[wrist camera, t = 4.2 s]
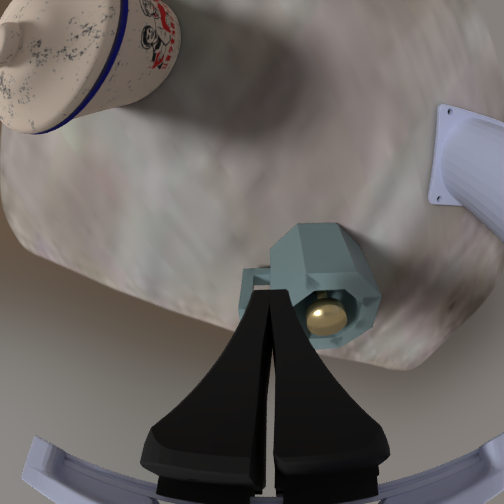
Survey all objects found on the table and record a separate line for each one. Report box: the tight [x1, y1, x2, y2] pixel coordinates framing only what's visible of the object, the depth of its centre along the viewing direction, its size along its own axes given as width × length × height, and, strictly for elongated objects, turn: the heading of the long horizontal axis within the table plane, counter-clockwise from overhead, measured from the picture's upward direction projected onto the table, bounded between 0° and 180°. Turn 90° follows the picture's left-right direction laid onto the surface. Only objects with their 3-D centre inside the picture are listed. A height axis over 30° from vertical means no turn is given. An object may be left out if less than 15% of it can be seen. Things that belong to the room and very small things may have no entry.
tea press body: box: [238, 223, 382, 349], centre depth 20 cm, size 9×7×6 cm
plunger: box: [306, 290, 347, 336], centre depth 19 cm, size 4×4×5 cm
